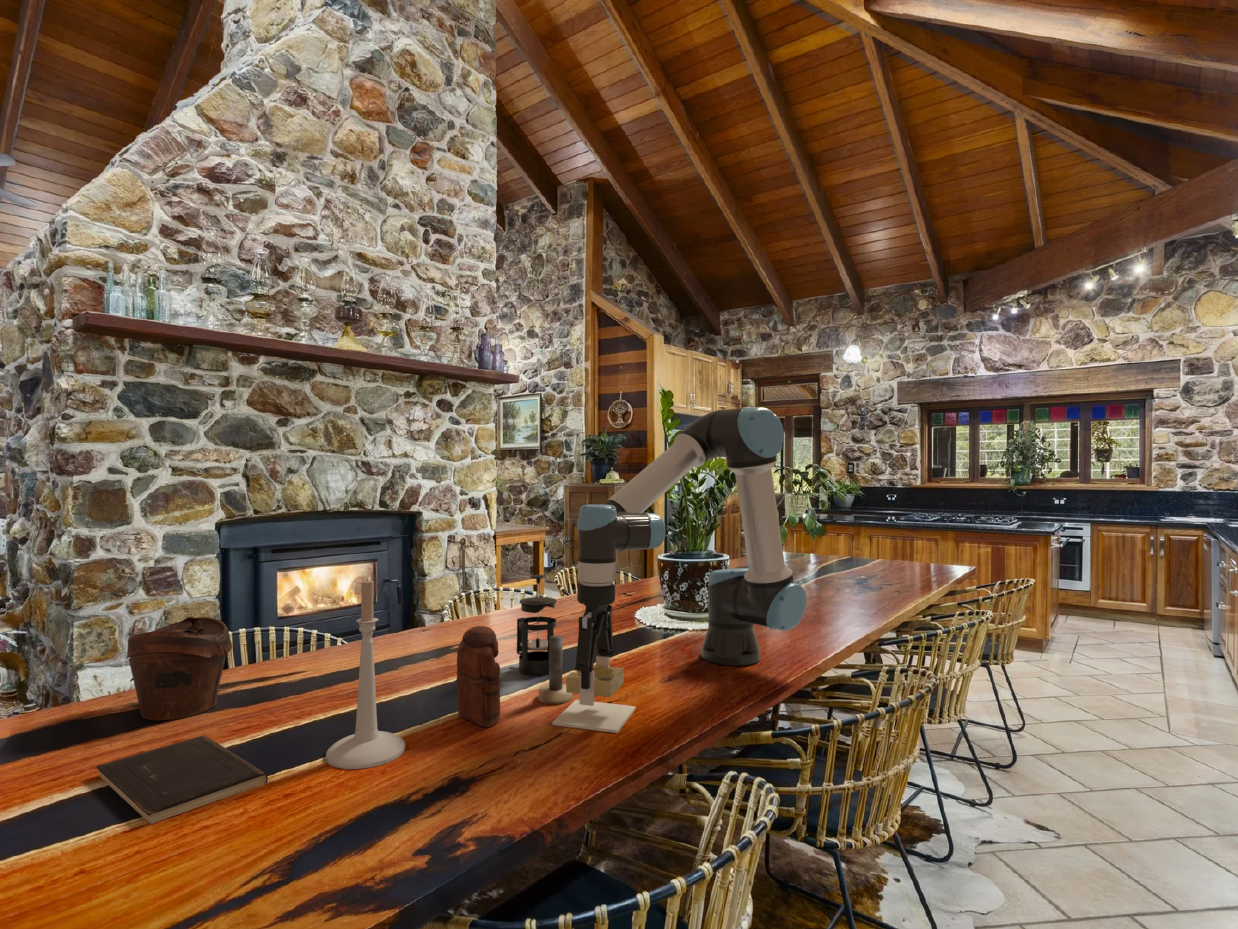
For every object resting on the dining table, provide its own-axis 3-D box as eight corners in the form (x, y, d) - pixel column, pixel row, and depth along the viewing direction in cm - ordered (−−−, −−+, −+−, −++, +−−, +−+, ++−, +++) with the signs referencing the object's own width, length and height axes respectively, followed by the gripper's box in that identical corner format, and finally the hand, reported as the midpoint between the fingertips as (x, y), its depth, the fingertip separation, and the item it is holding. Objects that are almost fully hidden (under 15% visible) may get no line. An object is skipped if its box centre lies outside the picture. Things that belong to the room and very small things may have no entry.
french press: (566, 669, 163) (567, 575, 163) (539, 679, 155) (540, 580, 155) (532, 660, 170) (533, 570, 170) (505, 669, 162) (505, 575, 162)
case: (217, 685, 149) (216, 605, 148) (244, 710, 134) (243, 621, 134) (118, 707, 136) (117, 619, 136) (136, 736, 122) (135, 639, 122)
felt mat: (635, 709, 137) (635, 706, 137) (617, 733, 124) (617, 730, 124) (575, 702, 140) (575, 699, 140) (552, 724, 128) (552, 722, 128)
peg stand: (577, 694, 145) (577, 634, 145) (565, 705, 138) (565, 642, 138) (546, 690, 147) (547, 631, 147) (533, 701, 140) (533, 640, 140)
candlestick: (358, 776, 106) (359, 588, 107) (309, 757, 113) (311, 580, 113) (420, 747, 117) (422, 577, 117) (373, 731, 124) (374, 570, 124)
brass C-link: (623, 682, 135) (623, 668, 135) (610, 697, 127) (610, 681, 127) (581, 678, 138) (582, 664, 138) (566, 692, 129) (566, 676, 129)
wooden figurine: (510, 721, 130) (511, 629, 130) (483, 731, 125) (484, 634, 125) (476, 706, 138) (477, 618, 138) (449, 714, 133) (449, 624, 133)
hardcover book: (148, 830, 91) (148, 813, 91) (96, 780, 106) (96, 765, 106) (268, 786, 104) (268, 771, 104) (207, 747, 118) (207, 734, 118)
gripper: (595, 573, 144) (594, 678, 144) (558, 590, 123) (556, 713, 123) (629, 575, 142) (628, 681, 142) (596, 593, 121) (595, 718, 121)
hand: (594, 696), depth 132 cm, fingers closed on brass C-link, 9 cm apart
